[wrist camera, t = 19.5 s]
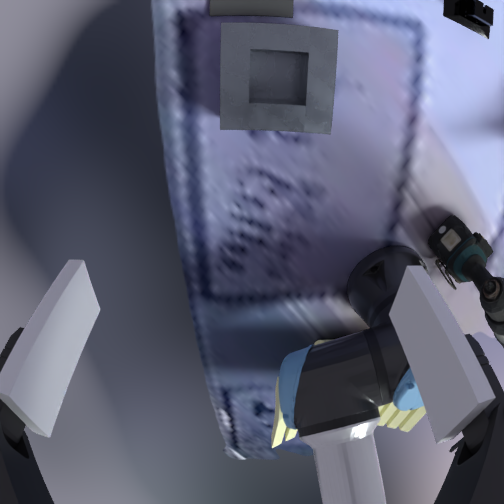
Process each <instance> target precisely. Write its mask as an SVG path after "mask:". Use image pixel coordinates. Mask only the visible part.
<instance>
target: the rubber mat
mask: <svg viewBox="0 0 504 504" xmlns="http://www.w3.org/2000/svg"><path fill="white" fill-rule="evenodd" d="M210 16H274V17H288V18H293V0H210Z"/></svg>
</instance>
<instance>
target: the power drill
mask: <svg viewBox="0 0 504 504" xmlns="http://www.w3.org/2000/svg"><path fill="white" fill-rule="evenodd" d="M428 245H429V246H430V248H431V249H432V250H433V251H434V253H435V254H436V255H437V257H438V258H439V259H440V260H441V261H442V262H443V263H444V264H445V265H446V267H445V266H444V265H443V263H442V262H441V261H440V260H439V259H438V260H436V261H435V263H436V265H437V267H438V268H439V270H440V271H441V273H442V274H443V276H444V277H445V275H444V273H443V272H442V270H441V268H440V267H439V263H440V262H441V263H442V265H443V266H444V268H445V269H446V270H445V273H446V275H447V276H448V278H449V280H450V281H451V283H452V284H451V283H450V282H449V280H448V279H447V278H446V277H445V279H446V280H447V282H448V283H449V284H450V285H451V287H452V288H454V289H455V290H456V287H455V285H454V284H453V282H452V279H451V278H450V277H449V274H450V275H451V276H452V277H453V278H454V279H455V281H456V282H458V283H459V284H460V283H461V282H470V281H473V282H474V284H475V286H476V287H477V289H478V290H479V292H480V302H481V306H482V308H483V309H484V310H485V317H486V320H487V322H488V325H489V326H490V328H491V329H492V331H493V332H494V335H495V337H496V338H497V340H498V341H499V342H500V344H501V345H502V346H503V348H504V278H501V277H493V276H492V275H491V274H490V273H489V272H488V271H487V269H486V268H485V267H486V262H487V258H488V257H489V256H490V255H491V254H492V253H493V250H492V248H491V246H490V245H489V244H488V242H487V240H485V239H484V238H483V236H481V234H480V233H479V234H478V233H477V232H475V233H474V234H472V233H471V231H470V230H469V229H468V228H467V226H466V225H465V224H464V223H463V222H462V221H461V220H460V219H459V218H458V217H456V216H455V215H453V216H450V217H449V218H448V219H447V220H446V221H445V222H444V223H443V224H442V225H441V226H440V227H439V228H438V229H437V230H436V231H435V232H434V234H433V235H432V236H431V237H430V238H429V242H428ZM448 273H449V274H448Z"/></svg>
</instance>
